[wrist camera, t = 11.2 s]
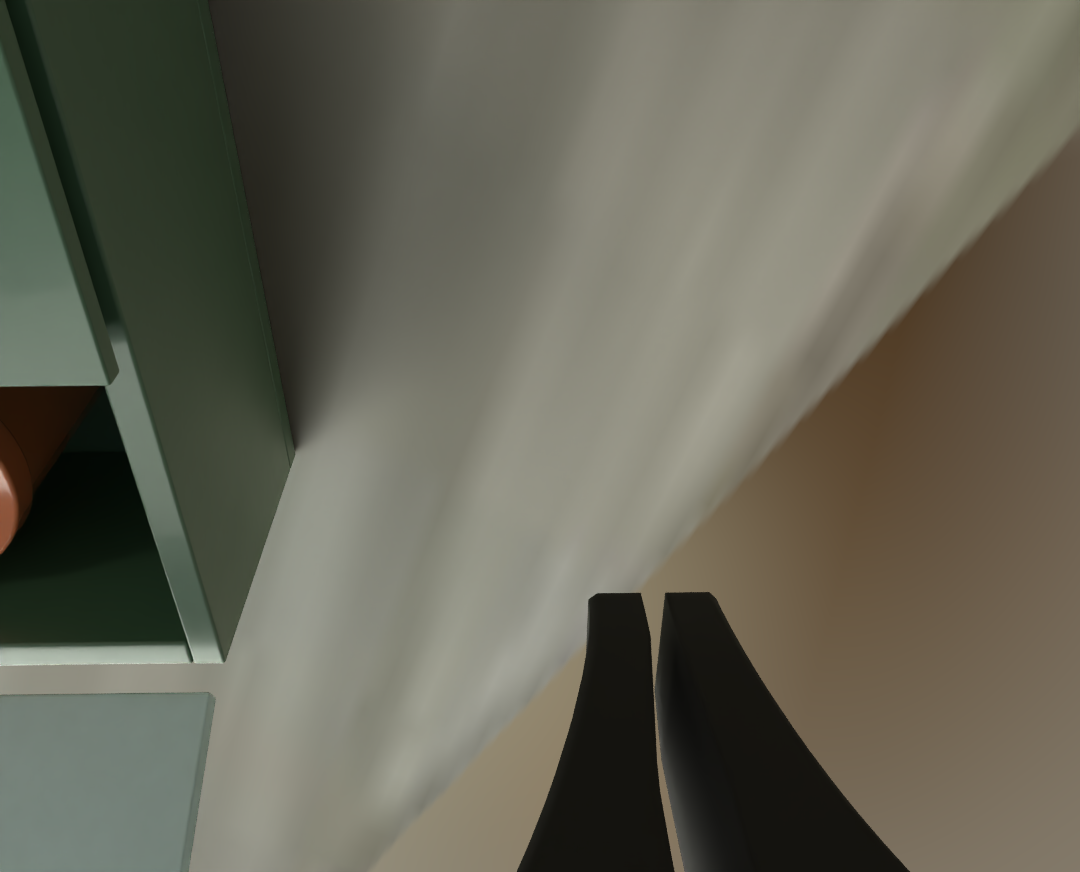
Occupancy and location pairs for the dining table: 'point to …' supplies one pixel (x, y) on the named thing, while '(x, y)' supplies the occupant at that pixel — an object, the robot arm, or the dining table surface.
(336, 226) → the dining table surface
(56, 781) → the pale green slab
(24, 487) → the pot
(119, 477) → the box
